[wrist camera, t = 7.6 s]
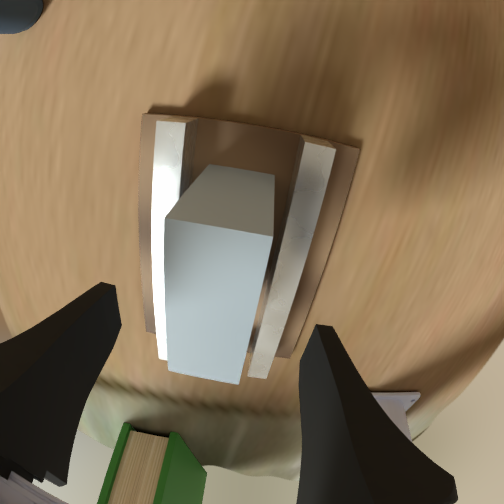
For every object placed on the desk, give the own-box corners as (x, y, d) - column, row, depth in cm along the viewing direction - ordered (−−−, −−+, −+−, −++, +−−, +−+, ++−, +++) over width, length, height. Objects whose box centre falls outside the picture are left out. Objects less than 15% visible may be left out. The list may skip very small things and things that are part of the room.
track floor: (289, 353, 20) (289, 358, 19) (148, 326, 19) (146, 331, 19) (357, 147, 12) (360, 149, 12) (146, 113, 12) (142, 114, 12)
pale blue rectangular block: (251, 295, 17) (239, 384, 11) (196, 286, 17) (167, 370, 11) (275, 175, 13) (275, 237, 8) (208, 163, 13) (162, 217, 8)
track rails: (267, 355, 19) (266, 379, 17) (167, 336, 19) (159, 358, 17) (327, 141, 12) (336, 149, 10) (173, 115, 12) (156, 120, 10)
